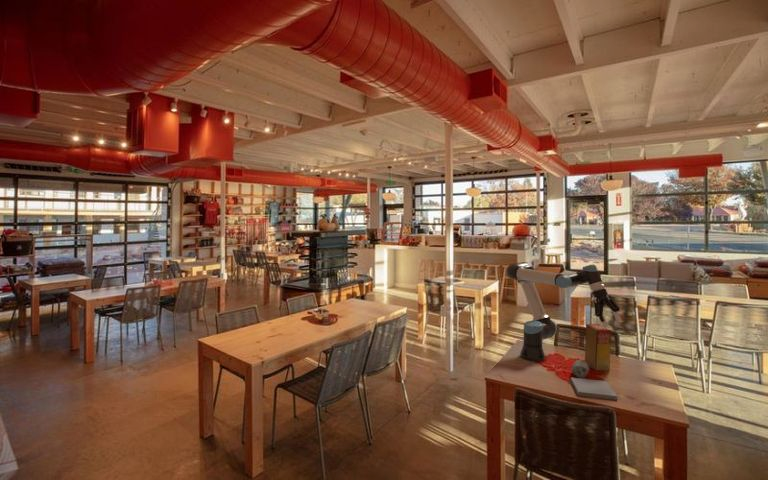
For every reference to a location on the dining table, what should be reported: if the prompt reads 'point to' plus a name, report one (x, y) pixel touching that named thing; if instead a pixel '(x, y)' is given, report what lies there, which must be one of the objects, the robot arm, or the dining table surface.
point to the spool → (580, 368)
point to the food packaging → (598, 347)
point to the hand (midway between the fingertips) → (613, 324)
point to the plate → (593, 388)
